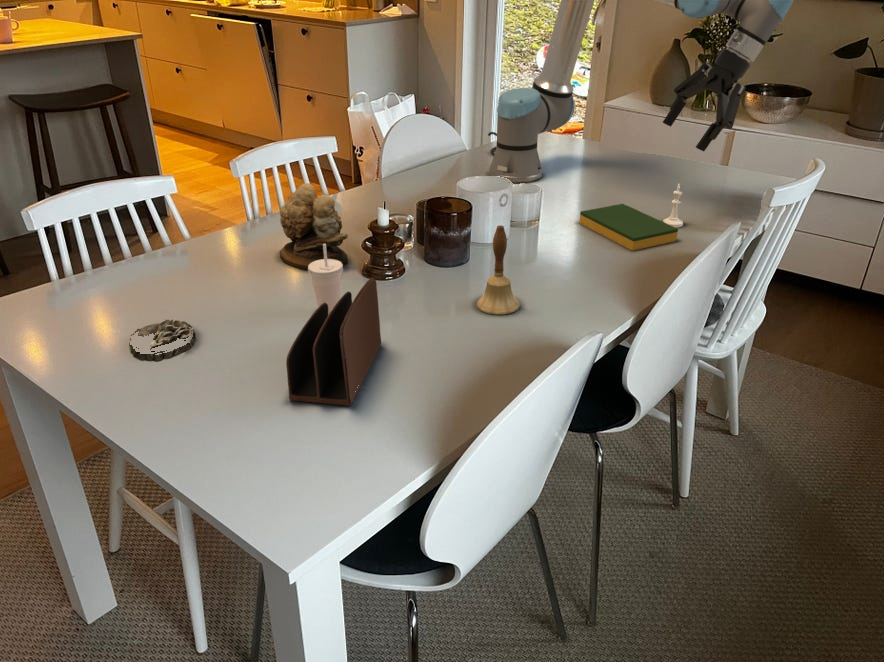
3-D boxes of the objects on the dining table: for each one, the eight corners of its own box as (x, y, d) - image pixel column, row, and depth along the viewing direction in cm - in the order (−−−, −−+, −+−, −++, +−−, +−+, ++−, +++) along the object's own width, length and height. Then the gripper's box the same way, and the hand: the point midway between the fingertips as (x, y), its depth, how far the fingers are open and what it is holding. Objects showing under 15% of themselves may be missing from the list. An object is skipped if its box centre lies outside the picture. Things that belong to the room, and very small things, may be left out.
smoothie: (318, 323, 138) (311, 252, 131) (307, 309, 143) (300, 240, 135) (351, 315, 140) (346, 246, 133) (339, 302, 145) (334, 234, 138)
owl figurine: (364, 259, 164) (359, 182, 155) (328, 277, 155) (321, 198, 146) (303, 242, 172) (295, 169, 163) (266, 259, 164) (256, 182, 155)
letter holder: (381, 344, 131) (378, 270, 124) (351, 407, 114) (344, 325, 107) (327, 340, 132) (320, 266, 125) (288, 401, 115) (278, 320, 108)
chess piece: (681, 221, 185) (687, 181, 180) (684, 228, 181) (691, 187, 175) (660, 220, 185) (666, 180, 180) (663, 227, 181) (670, 186, 176)
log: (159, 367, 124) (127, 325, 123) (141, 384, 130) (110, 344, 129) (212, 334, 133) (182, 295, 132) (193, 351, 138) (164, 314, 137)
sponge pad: (579, 223, 183) (580, 211, 182) (621, 215, 188) (622, 203, 187) (632, 250, 168) (633, 238, 167) (676, 241, 173) (678, 228, 172)
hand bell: (467, 306, 144) (469, 227, 136) (493, 292, 149) (496, 215, 141) (502, 319, 139) (506, 238, 131) (528, 304, 145) (532, 225, 136)
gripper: (695, 30, 180) (644, 110, 190) (765, 70, 164) (705, 156, 174) (713, 41, 184) (662, 119, 194) (783, 82, 168) (723, 164, 178)
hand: (682, 136), depth 184 cm, fingers open, 13 cm apart
